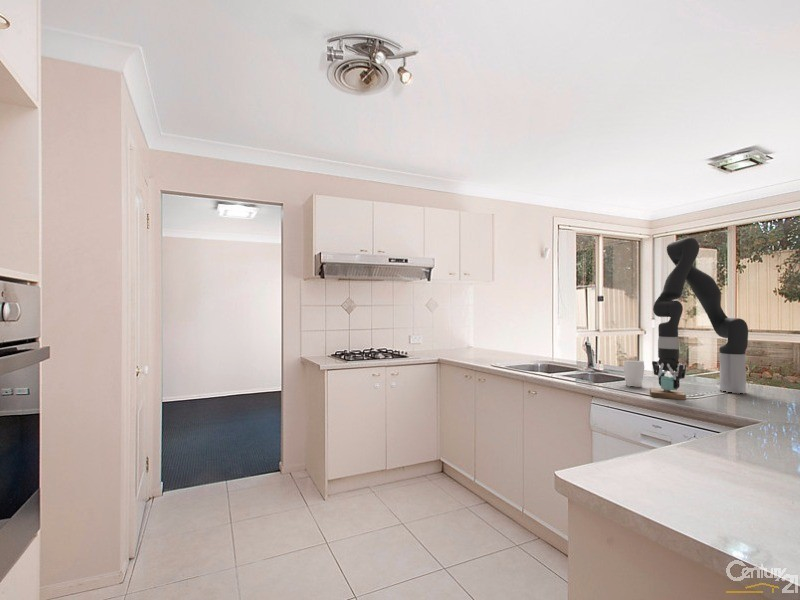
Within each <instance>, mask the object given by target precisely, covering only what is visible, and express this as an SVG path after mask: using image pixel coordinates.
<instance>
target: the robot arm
mask: <svg viewBox="0 0 800 600" xmlns="http://www.w3.org/2000/svg"><path fill="white" fill-rule="evenodd" d="M699 251H700V245H699V241H697V239H696V238H694V237H691V236H690V237H684V238H681V239H678V240H675V241H672V242H670V243H668V244H667V246H666V252H667V255H668V258H669V259H670V260H671V262H672V263H673V265H675V266H674V268H673V269H672V270H671V272H670V273H669V275H668V276H667V277H666V280H665V283H664V286H663V289H662V292H661V293H660V294H659V296H658V297H657V299H656V300H655V301H654V303H653V307H652V311H653V314H654V315H655V316H656V317H658V318H659V317H660V318H669V320H668V321H666V322H661V323H659V324H658V327H657V328H658V329H657V330H658V339H657V358H658V360H652V361H651V362H652V363H651V364H652V371H653V374H654V375H655V376H657V377H658V385H659V386H660V387H661V376H666V373H668V372H669V373H670V375H671V376H673V378H674V380H673V388H675V389H677V390H679V388H680V380H681V379H685V377H686V369H687V364H685V363H684V364H682V363H680V361H679V360H680V341H679V324H680V321H681V317H682V313H683V310H684V309H683V304H682V303H681V301H679V300H678V299H680V298H681V297H682V295H683V292H684V286H685V283H686V282H687V283H688V286H690V289H691V290H692V292H693V294H694V295H695V297H696V299H697V300H698V302H699V304H700V305H701V307H702V309H703V311H704V312H705V314H706V315H707V317H708V320H709V321H710V324H711V326H712V328H713V330H714V332H715V333H716V334H717V336H719V337H720V338H724V339H727V342H726V343H725V344H724V345H721V346H720V347H719V352H718V353H719V391H720V390H722V391H721V392H723V391H726V392H725V393H728V392H732V393H731V394H740V393H743V394H746V393H747V373H746V371H747V370H746V369H747V366H746V365H747V363H746V362H747V361H746V351H747V349H748V342H749V340H748V339H749V327H748V323H747V322H746V320H744V319H742V318H737V317H728V316H727V315H726V313H725V312H724V310H723V308H722V303H721V302H722V291H721V289H720V287H719V286H718V284H717V283H716V281H715V279H714V278H713V277H712V276H710V275H709V274H707V273H706V272H704V271H702V270H701V269H699V268H697V267H695V265H694V262H695V261H696V258H697V257H698V255H699Z"/></svg>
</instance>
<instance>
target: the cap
mask: <svg viewBox="0 0 800 600" xmlns="http://www.w3.org/2000/svg"><path fill="white" fill-rule="evenodd" d="M673 380H674V378H673V376H672V375H665V376H661V386H660V389H666V390H678V389H675V388H673Z"/></svg>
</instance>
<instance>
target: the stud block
mask: <svg viewBox="0 0 800 600" xmlns="http://www.w3.org/2000/svg"><path fill="white" fill-rule="evenodd" d="M649 394H650V397H651V398H656V399H657V398H658V399H668V400H669V399H670V400H680V401H681V400H682V401H686V400H687V396H686V394H685V392H684V390H682V389H681V390H680V389H677V390H666V389H662V388H659V387H657V388H655V387H650V388H649Z"/></svg>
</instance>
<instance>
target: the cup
mask: <svg viewBox="0 0 800 600" xmlns="http://www.w3.org/2000/svg"><path fill="white" fill-rule="evenodd" d="M622 367H623V368H622V369H623V375H624V381H625V382H624V383H625V386H627V387H630V386H635V387H634V388H641V387H642V386H643V380H644V374H645V361H643V360H634V359H625V360H623V363H622Z"/></svg>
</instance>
